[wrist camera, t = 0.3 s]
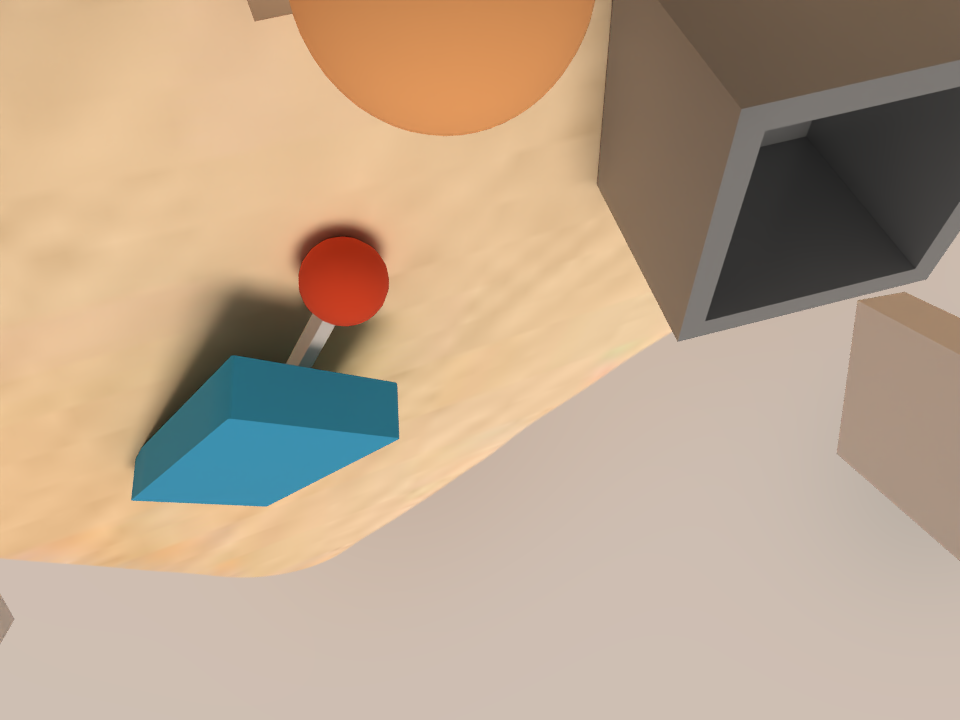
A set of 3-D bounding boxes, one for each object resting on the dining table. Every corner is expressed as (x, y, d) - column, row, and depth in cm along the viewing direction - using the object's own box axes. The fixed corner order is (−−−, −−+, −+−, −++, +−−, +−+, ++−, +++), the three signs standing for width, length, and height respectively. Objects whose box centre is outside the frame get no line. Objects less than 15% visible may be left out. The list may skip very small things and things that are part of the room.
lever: (270, 387, 41) (441, 246, 28) (266, 506, 38) (452, 411, 25) (145, 369, 37) (275, 194, 24) (130, 500, 34) (268, 384, 21)
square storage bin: (616, -53, 20) (741, 109, 16) (902, -112, 21) (1099, 28, 16) (597, 184, 28) (677, 341, 23) (808, 136, 28) (926, 279, 24)
